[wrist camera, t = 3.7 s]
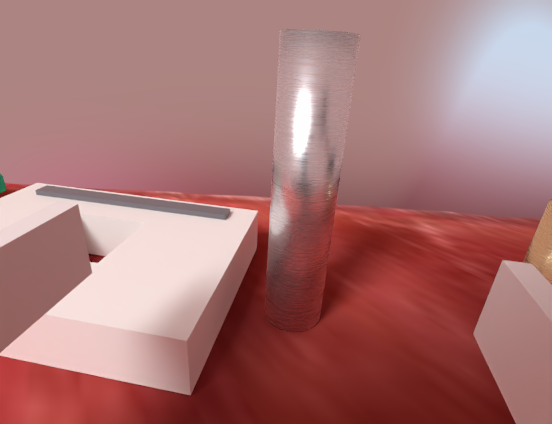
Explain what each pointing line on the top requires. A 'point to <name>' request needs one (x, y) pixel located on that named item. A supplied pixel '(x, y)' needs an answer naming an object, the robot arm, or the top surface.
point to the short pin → (542, 246)
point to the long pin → (306, 169)
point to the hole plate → (140, 286)
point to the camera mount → (2, 184)
